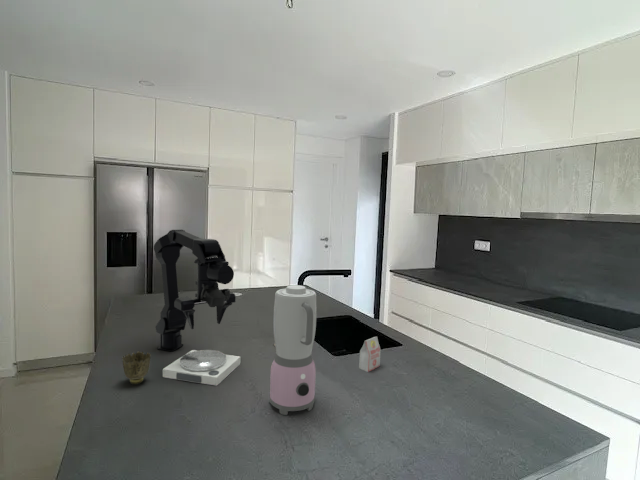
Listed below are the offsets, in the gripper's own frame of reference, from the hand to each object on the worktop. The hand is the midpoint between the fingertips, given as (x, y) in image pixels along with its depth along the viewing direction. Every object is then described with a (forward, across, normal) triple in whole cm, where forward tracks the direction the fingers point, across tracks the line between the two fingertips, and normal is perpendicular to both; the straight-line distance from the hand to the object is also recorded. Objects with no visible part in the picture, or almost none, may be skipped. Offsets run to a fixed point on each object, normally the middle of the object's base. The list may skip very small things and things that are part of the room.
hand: (205, 326), depth 120 cm
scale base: (+13, -2, -3) cm, 14 cm away
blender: (+13, +7, -38) cm, 40 cm away
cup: (+14, -20, +2) cm, 25 cm away
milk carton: (+13, +42, -35) cm, 56 cm away
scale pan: (+10, -2, -3) cm, 11 cm away
